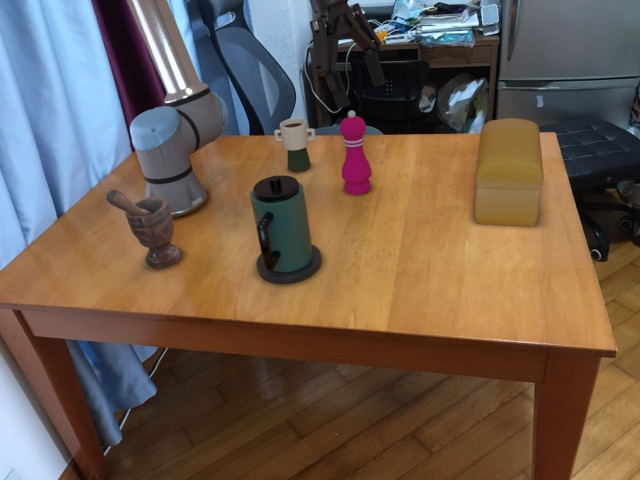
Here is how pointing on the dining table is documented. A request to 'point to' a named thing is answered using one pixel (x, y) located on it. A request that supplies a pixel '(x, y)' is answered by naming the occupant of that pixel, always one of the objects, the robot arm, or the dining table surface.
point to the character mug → (295, 142)
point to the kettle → (282, 223)
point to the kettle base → (293, 275)
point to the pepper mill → (355, 155)
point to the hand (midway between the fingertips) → (362, 95)
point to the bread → (508, 173)
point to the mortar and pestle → (150, 227)
